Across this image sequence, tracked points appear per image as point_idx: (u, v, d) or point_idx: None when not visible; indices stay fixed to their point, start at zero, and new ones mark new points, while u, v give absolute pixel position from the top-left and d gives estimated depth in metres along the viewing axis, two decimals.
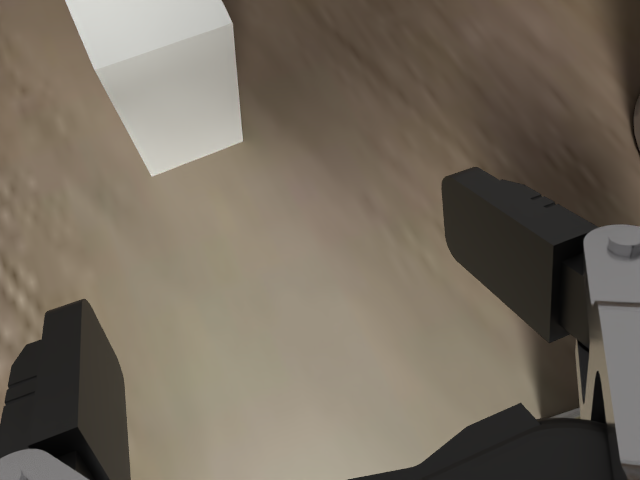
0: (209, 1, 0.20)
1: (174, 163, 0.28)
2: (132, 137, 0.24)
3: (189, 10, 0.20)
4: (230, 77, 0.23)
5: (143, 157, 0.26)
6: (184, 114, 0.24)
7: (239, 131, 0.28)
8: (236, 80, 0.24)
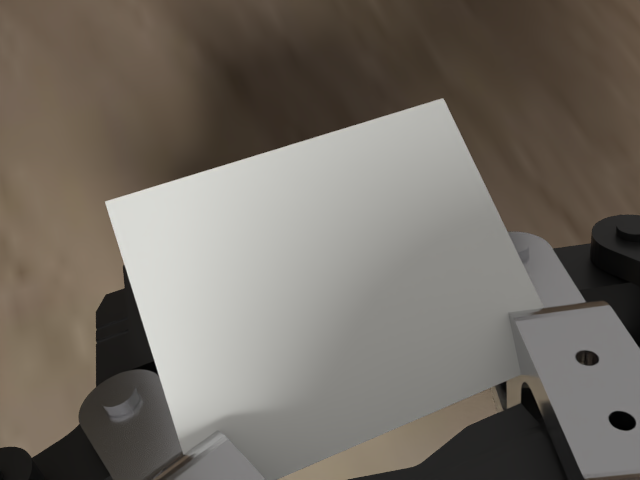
0: (505, 289, 0.08)
1: None
2: None
3: (454, 317, 0.07)
4: None
5: None
6: None
7: None
8: None
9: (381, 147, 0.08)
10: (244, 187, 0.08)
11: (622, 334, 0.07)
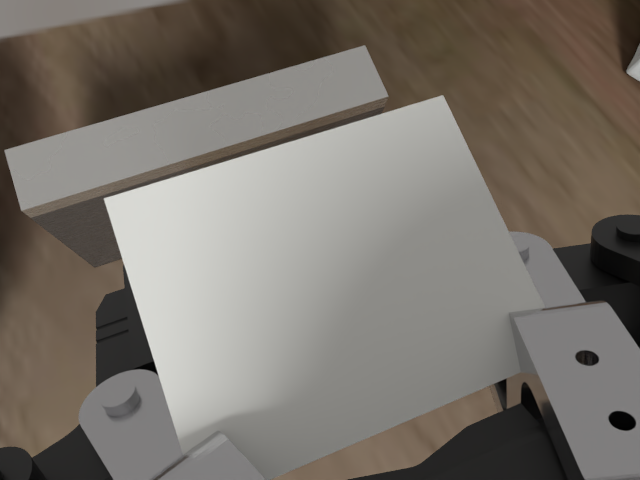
0: (504, 286, 0.08)
1: None
2: None
3: (455, 314, 0.07)
4: None
5: None
6: None
7: None
8: None
9: (380, 144, 0.08)
10: (243, 184, 0.08)
11: (622, 334, 0.07)
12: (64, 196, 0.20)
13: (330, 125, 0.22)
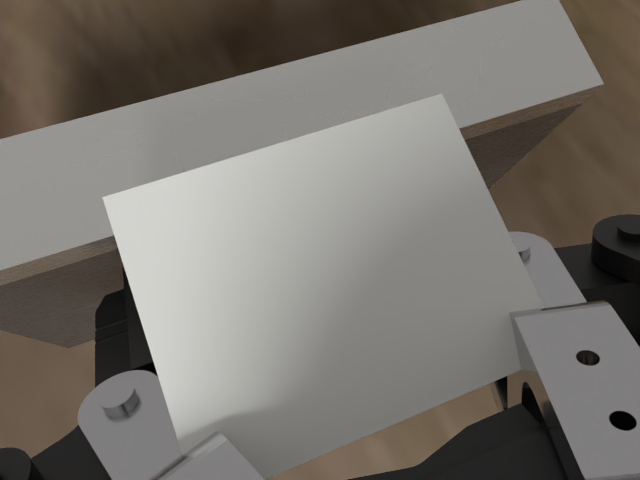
0: (503, 285, 0.08)
1: None
2: None
3: (453, 312, 0.07)
4: None
5: None
6: None
7: None
8: None
9: (379, 142, 0.08)
10: (242, 182, 0.08)
11: (623, 334, 0.07)
12: None
13: (489, 134, 0.12)
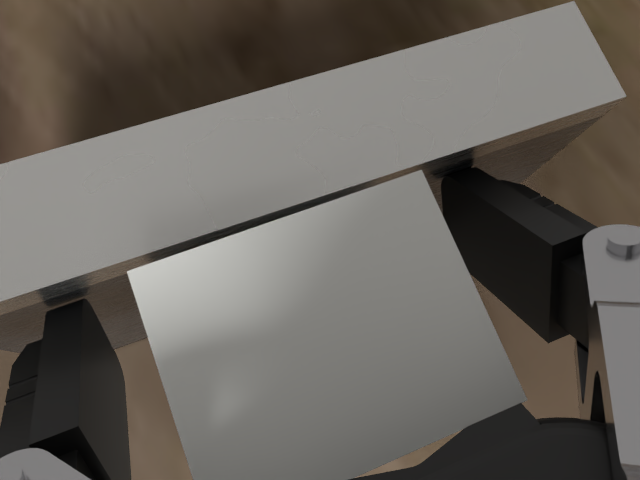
0: (474, 342, 0.09)
1: None
2: None
3: (430, 367, 0.09)
4: None
5: None
6: None
7: None
8: None
9: (366, 216, 0.09)
10: (246, 255, 0.09)
11: None
12: None
13: (507, 149, 0.12)
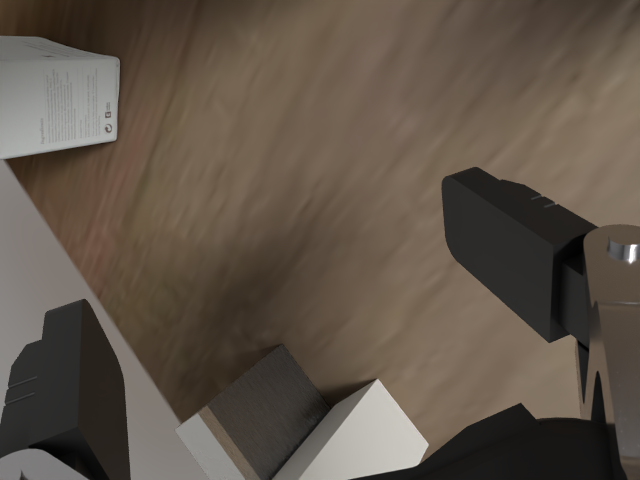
0: None
1: (412, 431, 0.34)
2: None
3: None
4: (334, 442, 0.29)
5: None
6: (372, 460, 0.30)
7: (370, 390, 0.34)
8: (334, 434, 0.29)
9: None
10: None
11: None
12: None
13: (234, 438, 0.31)
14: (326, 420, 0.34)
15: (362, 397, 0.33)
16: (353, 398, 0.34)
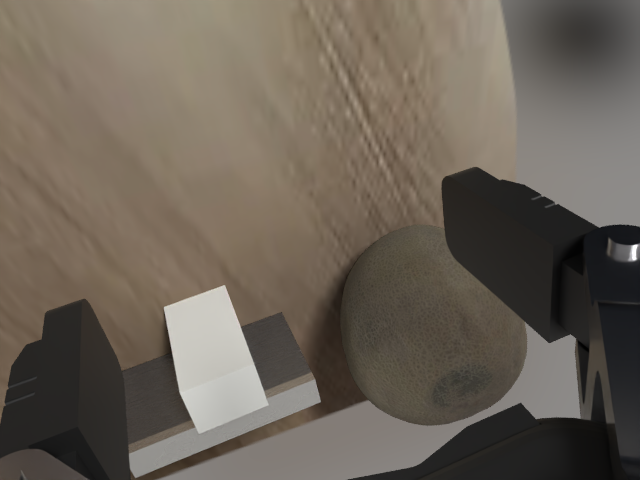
0: (191, 402, 0.36)
1: (210, 294, 0.44)
2: (236, 317, 0.41)
3: (202, 396, 0.36)
4: (177, 357, 0.39)
5: (229, 301, 0.43)
6: (205, 332, 0.40)
7: (167, 315, 0.43)
8: (173, 355, 0.39)
9: (214, 422, 0.38)
10: (242, 411, 0.38)
11: None
12: (296, 387, 0.40)
13: (155, 431, 0.39)
14: None
15: (167, 324, 0.42)
16: None
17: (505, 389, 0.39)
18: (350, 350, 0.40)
